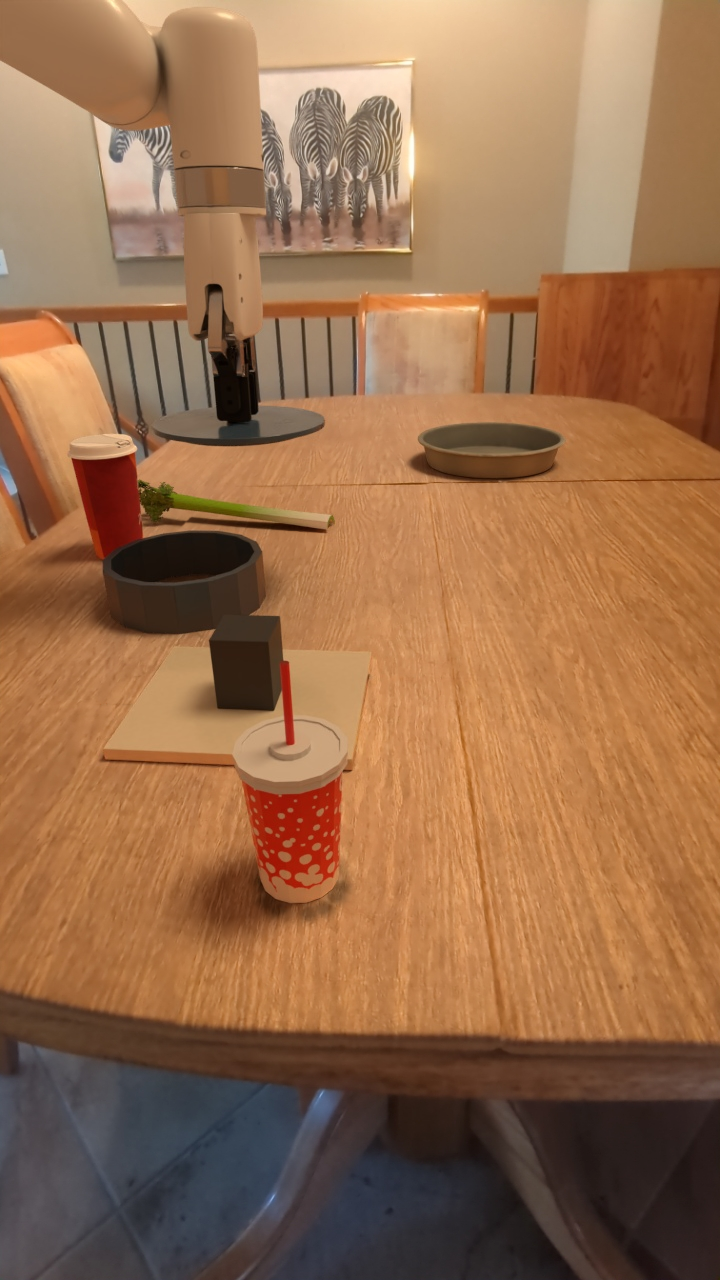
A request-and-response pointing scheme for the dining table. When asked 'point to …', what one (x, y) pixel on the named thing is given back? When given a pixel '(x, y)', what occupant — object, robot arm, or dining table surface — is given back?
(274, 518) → the celery stalk
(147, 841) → the dining table surface
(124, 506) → the paper cup
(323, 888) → the beverage cup
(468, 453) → the cake pan
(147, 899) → the dining table surface
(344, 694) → the board
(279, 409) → the lid
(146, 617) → the pot
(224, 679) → the block
